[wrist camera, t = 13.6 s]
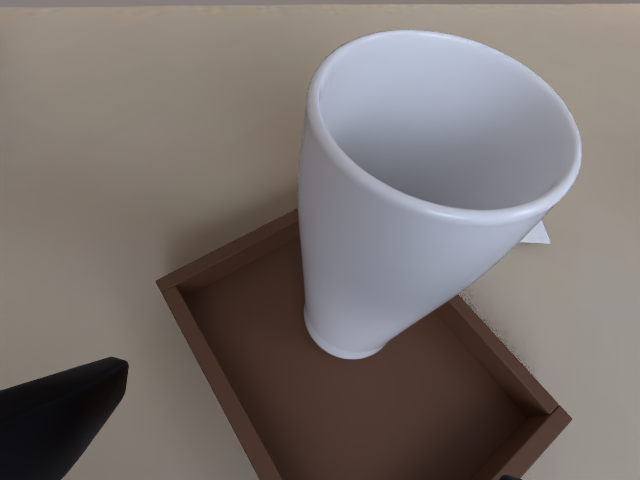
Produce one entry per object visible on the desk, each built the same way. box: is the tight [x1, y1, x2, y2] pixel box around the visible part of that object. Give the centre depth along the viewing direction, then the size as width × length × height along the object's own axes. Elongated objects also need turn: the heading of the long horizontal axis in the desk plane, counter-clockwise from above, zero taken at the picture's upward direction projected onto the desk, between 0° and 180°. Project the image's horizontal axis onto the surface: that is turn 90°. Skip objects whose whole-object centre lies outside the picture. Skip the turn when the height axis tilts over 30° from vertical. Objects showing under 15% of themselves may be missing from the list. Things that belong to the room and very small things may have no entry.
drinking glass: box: [298, 30, 582, 359], centre depth 15 cm, size 7×7×15 cm
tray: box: [156, 208, 572, 480], centre depth 20 cm, size 18×14×2 cm
